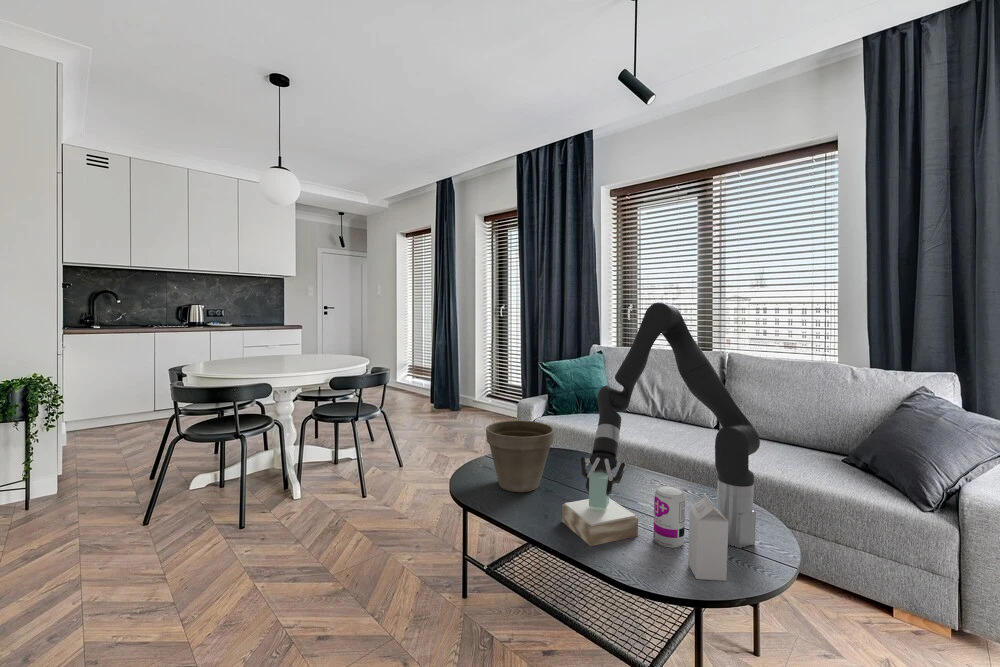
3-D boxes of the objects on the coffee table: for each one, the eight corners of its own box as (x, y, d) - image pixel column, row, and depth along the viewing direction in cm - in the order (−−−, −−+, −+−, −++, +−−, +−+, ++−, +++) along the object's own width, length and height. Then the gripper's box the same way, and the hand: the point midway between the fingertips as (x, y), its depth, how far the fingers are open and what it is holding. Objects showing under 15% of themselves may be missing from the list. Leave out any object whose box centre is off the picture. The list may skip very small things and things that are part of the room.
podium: (637, 535, 140) (638, 515, 139) (590, 546, 134) (590, 525, 133) (606, 513, 154) (606, 495, 154) (562, 521, 149) (562, 502, 148)
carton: (609, 502, 145) (609, 473, 144) (605, 509, 140) (606, 479, 140) (592, 499, 147) (593, 471, 146) (588, 506, 142) (589, 476, 142)
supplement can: (665, 550, 131) (666, 497, 130) (647, 536, 139) (648, 486, 138) (690, 546, 134) (691, 494, 133) (671, 533, 141) (673, 483, 140)
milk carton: (716, 565, 124) (718, 493, 123) (726, 581, 117) (729, 505, 116) (687, 564, 125) (689, 492, 123) (696, 580, 118) (698, 504, 116)
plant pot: (534, 469, 194) (535, 416, 193) (566, 492, 172) (566, 432, 170) (476, 478, 185) (476, 422, 183) (501, 503, 162) (501, 440, 161)
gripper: (582, 433, 152) (572, 483, 142) (628, 438, 146) (621, 491, 136) (585, 445, 157) (576, 494, 147) (630, 450, 152) (624, 502, 141)
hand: (598, 492), depth 142 cm, fingers closed on carton, 4 cm apart
